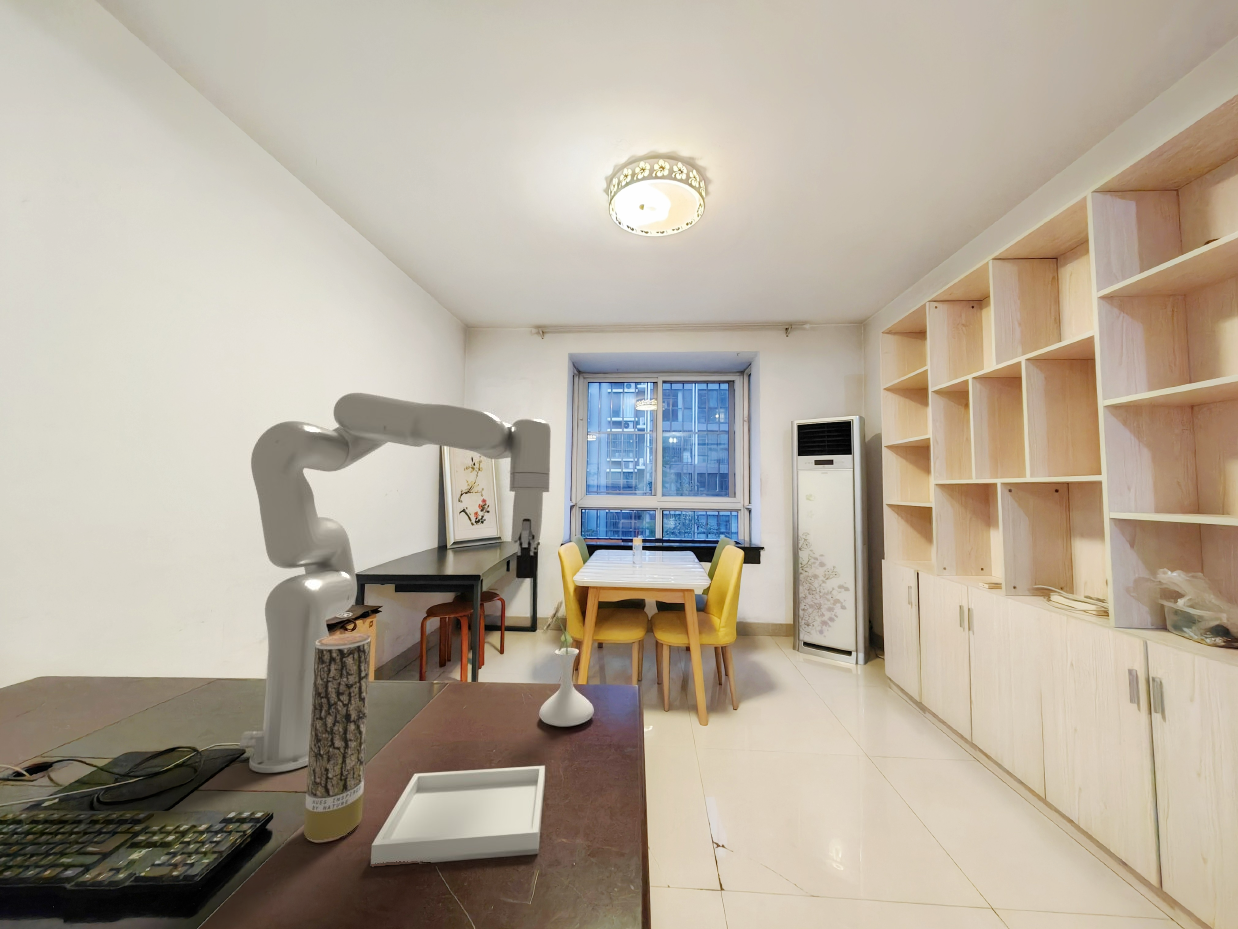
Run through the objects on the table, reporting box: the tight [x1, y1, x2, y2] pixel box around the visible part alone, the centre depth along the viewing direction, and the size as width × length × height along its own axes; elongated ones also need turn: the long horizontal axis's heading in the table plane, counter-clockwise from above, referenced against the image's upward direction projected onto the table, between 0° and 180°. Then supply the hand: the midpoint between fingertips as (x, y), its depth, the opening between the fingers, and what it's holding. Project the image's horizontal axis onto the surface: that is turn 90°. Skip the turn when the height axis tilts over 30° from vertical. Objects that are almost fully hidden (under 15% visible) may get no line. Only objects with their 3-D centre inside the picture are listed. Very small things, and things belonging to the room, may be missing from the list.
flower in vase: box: [538, 599, 595, 727], centre depth 98 cm, size 13×11×25 cm
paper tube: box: [303, 632, 372, 840], centre depth 65 cm, size 7×7×25 cm
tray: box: [370, 765, 546, 865], centre depth 66 cm, size 20×16×2 cm
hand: (527, 574), depth 88 cm, fingers open, 9 cm apart
